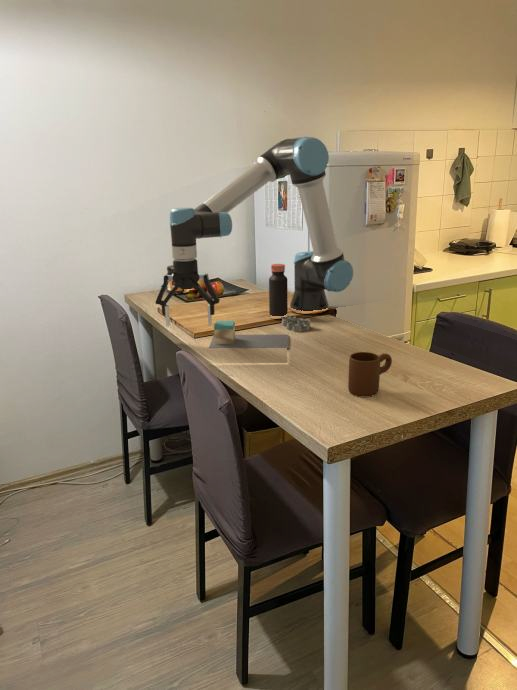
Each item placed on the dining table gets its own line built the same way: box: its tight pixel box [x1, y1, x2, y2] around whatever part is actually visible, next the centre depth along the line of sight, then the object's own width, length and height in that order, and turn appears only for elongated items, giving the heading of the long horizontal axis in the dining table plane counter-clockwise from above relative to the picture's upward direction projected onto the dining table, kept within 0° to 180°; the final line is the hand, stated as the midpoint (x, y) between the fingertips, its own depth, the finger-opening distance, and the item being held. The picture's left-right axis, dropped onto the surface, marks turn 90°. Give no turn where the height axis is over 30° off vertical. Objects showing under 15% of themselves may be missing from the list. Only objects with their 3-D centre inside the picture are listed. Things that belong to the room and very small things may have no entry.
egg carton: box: [281, 315, 312, 333], centre depth 191 cm, size 11×8×4 cm
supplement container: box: [166, 264, 184, 294], centre depth 247 cm, size 10×10×12 cm
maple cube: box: [213, 320, 236, 344], centre depth 175 cm, size 6×6×6 cm
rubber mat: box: [208, 333, 289, 351], centre depth 176 cm, size 25×14×1 cm, turn 87°
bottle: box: [268, 263, 289, 316], centre depth 201 cm, size 7×7×20 cm
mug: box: [347, 351, 393, 397], centre depth 136 cm, size 12×8×9 cm, turn 115°
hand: (189, 324), depth 175 cm, fingers open, 13 cm apart
